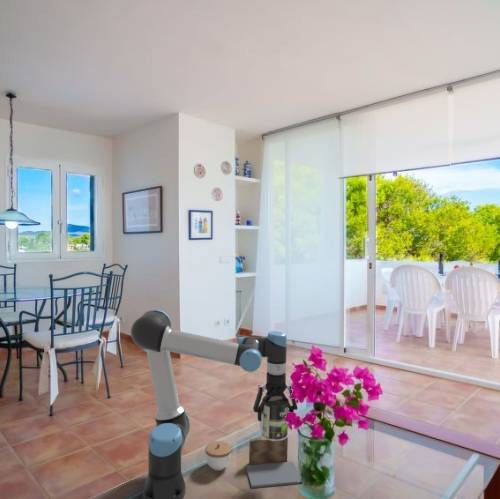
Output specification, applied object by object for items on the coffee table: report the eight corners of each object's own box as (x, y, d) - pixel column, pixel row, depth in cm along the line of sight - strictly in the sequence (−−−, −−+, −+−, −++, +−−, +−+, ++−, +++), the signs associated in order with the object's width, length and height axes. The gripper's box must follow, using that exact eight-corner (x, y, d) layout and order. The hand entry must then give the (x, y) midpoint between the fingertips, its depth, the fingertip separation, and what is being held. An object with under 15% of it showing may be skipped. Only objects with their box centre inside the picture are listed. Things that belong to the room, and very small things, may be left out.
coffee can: (292, 433, 159) (293, 398, 158) (279, 444, 150) (280, 407, 149) (269, 425, 164) (270, 392, 163) (256, 436, 156) (257, 400, 155)
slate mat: (251, 487, 150) (251, 485, 150) (245, 467, 162) (245, 465, 162) (302, 482, 153) (302, 480, 153) (292, 463, 166) (292, 461, 166)
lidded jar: (219, 477, 155) (219, 454, 155) (199, 467, 162) (199, 444, 161) (236, 465, 164) (237, 442, 163) (217, 455, 170) (217, 434, 170)
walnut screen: (249, 464, 164) (250, 440, 164) (249, 462, 166) (249, 438, 165) (287, 461, 167) (287, 438, 167) (286, 459, 169) (286, 436, 168)
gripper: (249, 376, 150) (248, 434, 151) (307, 374, 154) (305, 430, 155) (246, 369, 157) (244, 425, 159) (301, 367, 162) (299, 421, 163)
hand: (274, 427), depth 157 cm, fingers closed on coffee can, 10 cm apart
